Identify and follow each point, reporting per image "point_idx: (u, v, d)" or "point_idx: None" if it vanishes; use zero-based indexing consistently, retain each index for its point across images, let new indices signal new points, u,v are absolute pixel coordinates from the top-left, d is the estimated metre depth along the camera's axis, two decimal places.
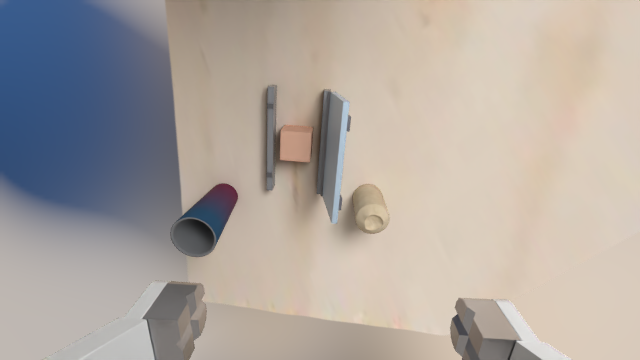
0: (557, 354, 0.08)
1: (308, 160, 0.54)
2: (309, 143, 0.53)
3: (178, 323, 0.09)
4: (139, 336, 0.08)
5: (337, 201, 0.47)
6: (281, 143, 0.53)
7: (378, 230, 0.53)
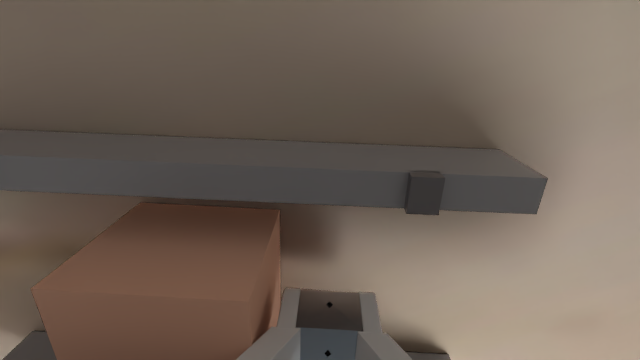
0: (391, 344, 0.08)
1: None
2: None
3: (331, 332, 0.08)
4: (295, 345, 0.08)
5: None
6: (156, 302, 0.07)
7: None
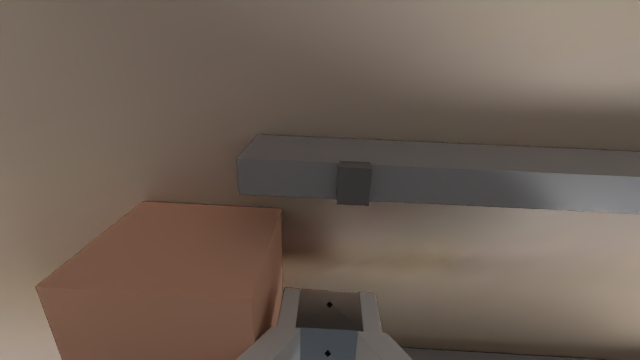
0: (391, 344, 0.08)
1: None
2: None
3: (331, 332, 0.08)
4: (295, 345, 0.08)
5: None
6: (159, 300, 0.07)
7: None
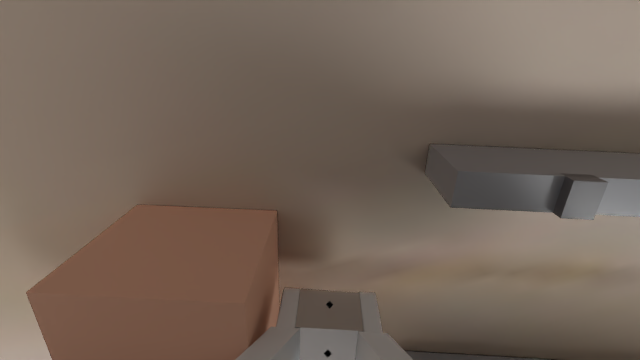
0: (391, 344, 0.08)
1: None
2: None
3: (330, 332, 0.08)
4: (294, 345, 0.08)
5: None
6: (151, 305, 0.07)
7: None
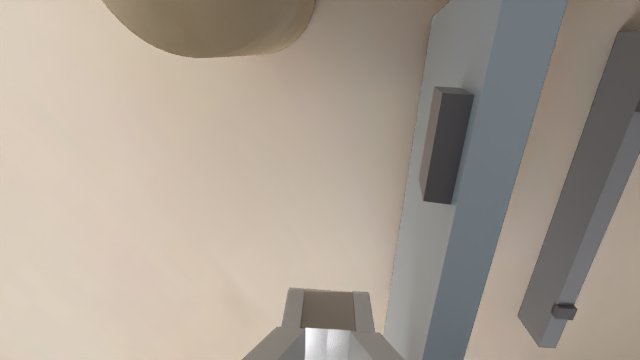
0: (383, 344, 0.08)
1: None
2: None
3: (336, 332, 0.08)
4: (300, 345, 0.08)
5: (475, 203, 0.06)
6: None
7: None
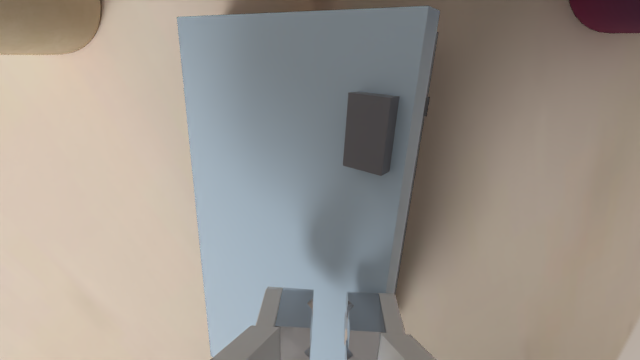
0: (415, 346, 0.08)
1: None
2: None
3: (310, 331, 0.08)
4: (273, 344, 0.08)
5: (409, 162, 0.09)
6: None
7: None
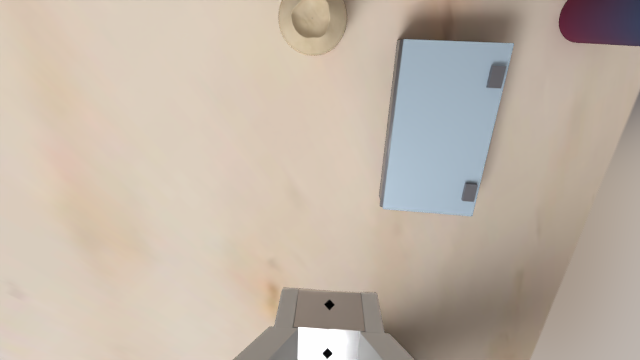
0: (393, 344, 0.08)
1: None
2: None
3: (328, 332, 0.08)
4: (292, 345, 0.08)
5: (502, 85, 0.31)
6: None
7: None
